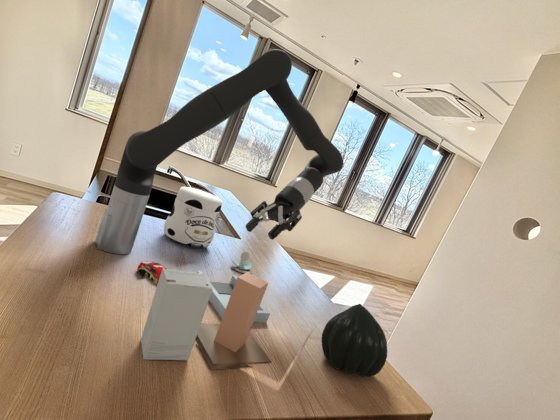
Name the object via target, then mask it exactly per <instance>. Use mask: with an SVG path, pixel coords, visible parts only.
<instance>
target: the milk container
mask: <svg viewBox="0 0 560 420" xmlns="http://www.w3.org/2000/svg"><path fill="white" fill-rule="evenodd" d="M222 206H223V199H221V198H220V197H218V196H216V195H215V194H212V193H209V192H207V191H204V190H202V189H197V188H194V187H190V186H180V188H179V190H178V192H177V194H176V197H175V200H174V203H173V206H172V208H171V209H172V210H171V211H170V213H169V215H168V216H167V218H166V219H165V221H164V225H163V233H164V235H165V236H166V238H167V239H169V240H170V241H172V242H174V243H176V244H178V245H181V246H184V247H188V248H192V249H206V248H207V247H209V246H210V244H212V241H213V240H214V237H215V231H216V230H215V229H216V225H217V224H216V223H217V220H218V217H219V215H220V211H221V210H222Z"/></svg>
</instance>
